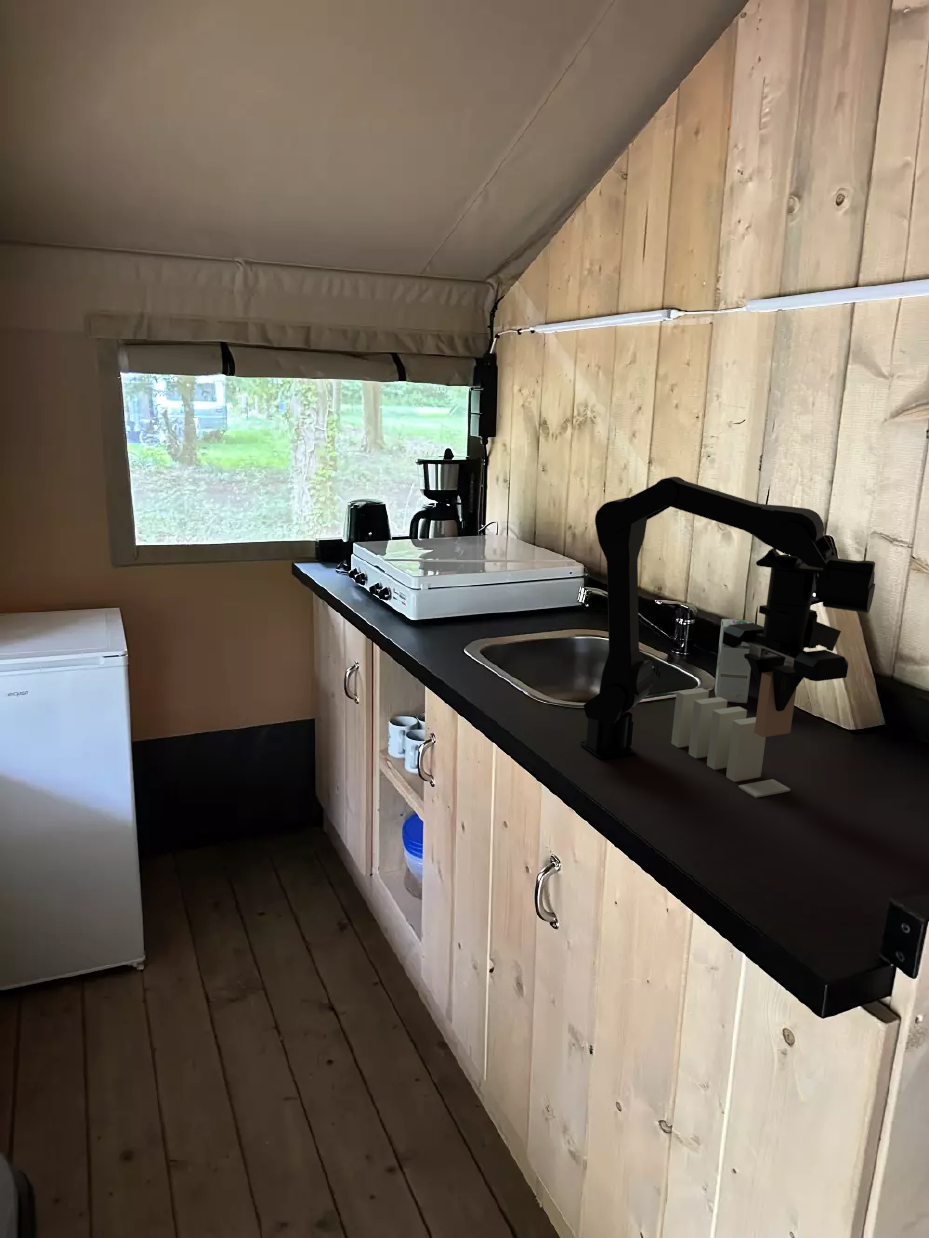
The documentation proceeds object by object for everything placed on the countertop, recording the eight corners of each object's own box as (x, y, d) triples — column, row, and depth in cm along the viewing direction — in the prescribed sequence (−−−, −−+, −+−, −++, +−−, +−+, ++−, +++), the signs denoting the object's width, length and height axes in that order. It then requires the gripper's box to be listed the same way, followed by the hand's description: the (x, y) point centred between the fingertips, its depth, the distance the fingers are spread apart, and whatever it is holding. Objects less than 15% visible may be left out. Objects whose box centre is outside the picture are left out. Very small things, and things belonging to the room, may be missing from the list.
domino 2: (721, 754, 144) (727, 700, 142) (695, 758, 142) (701, 704, 140) (714, 749, 145) (719, 696, 143) (688, 753, 143) (694, 700, 141)
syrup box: (747, 703, 167) (757, 628, 163) (714, 700, 168) (723, 625, 165) (744, 693, 173) (753, 620, 169) (712, 690, 174) (721, 617, 170)
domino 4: (760, 776, 136) (767, 720, 134) (734, 781, 134) (741, 724, 132) (752, 772, 137) (759, 716, 135) (726, 776, 135) (732, 720, 133)
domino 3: (740, 765, 140) (747, 710, 138) (714, 769, 138) (720, 714, 136) (732, 760, 141) (739, 706, 139) (706, 765, 139) (712, 710, 137)
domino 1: (703, 743, 148) (709, 691, 145) (678, 747, 146) (683, 694, 143) (696, 739, 149) (701, 687, 147) (671, 743, 147) (676, 691, 145)
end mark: (755, 797, 129) (755, 795, 129) (738, 787, 132) (738, 785, 132) (790, 790, 131) (790, 789, 131) (772, 780, 135) (772, 779, 134)
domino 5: (790, 732, 130) (798, 673, 127) (762, 737, 128) (770, 676, 125) (781, 728, 131) (789, 669, 129) (754, 732, 129) (761, 672, 127)
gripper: (887, 614, 120) (868, 724, 124) (785, 583, 136) (772, 682, 140) (823, 620, 115) (806, 734, 119) (726, 587, 131) (714, 689, 136)
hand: (774, 708), depth 129 cm, fingers closed on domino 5, 2 cm apart
